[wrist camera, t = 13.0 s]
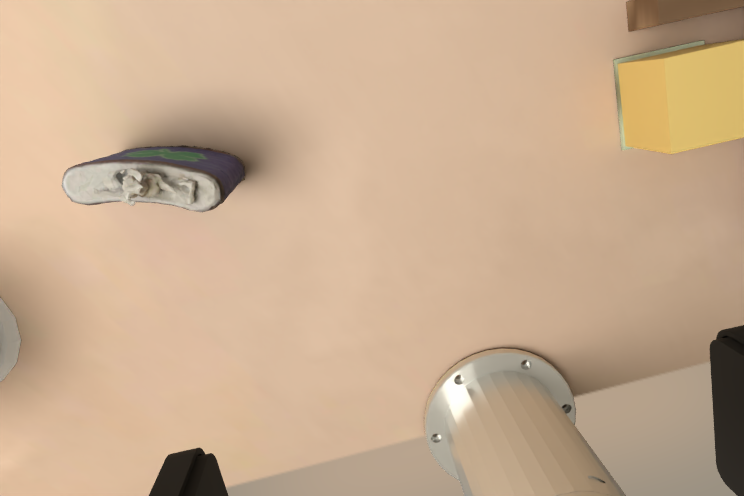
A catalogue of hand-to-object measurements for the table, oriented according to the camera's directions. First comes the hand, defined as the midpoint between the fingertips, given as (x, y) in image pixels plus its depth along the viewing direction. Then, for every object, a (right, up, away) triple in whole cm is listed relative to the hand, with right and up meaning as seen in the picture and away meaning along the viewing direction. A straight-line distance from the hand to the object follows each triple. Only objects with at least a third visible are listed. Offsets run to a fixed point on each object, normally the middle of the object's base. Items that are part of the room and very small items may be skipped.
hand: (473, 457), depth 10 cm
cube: (+19, +15, +32) cm, 40 cm away
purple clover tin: (-16, +10, +31) cm, 36 cm away
